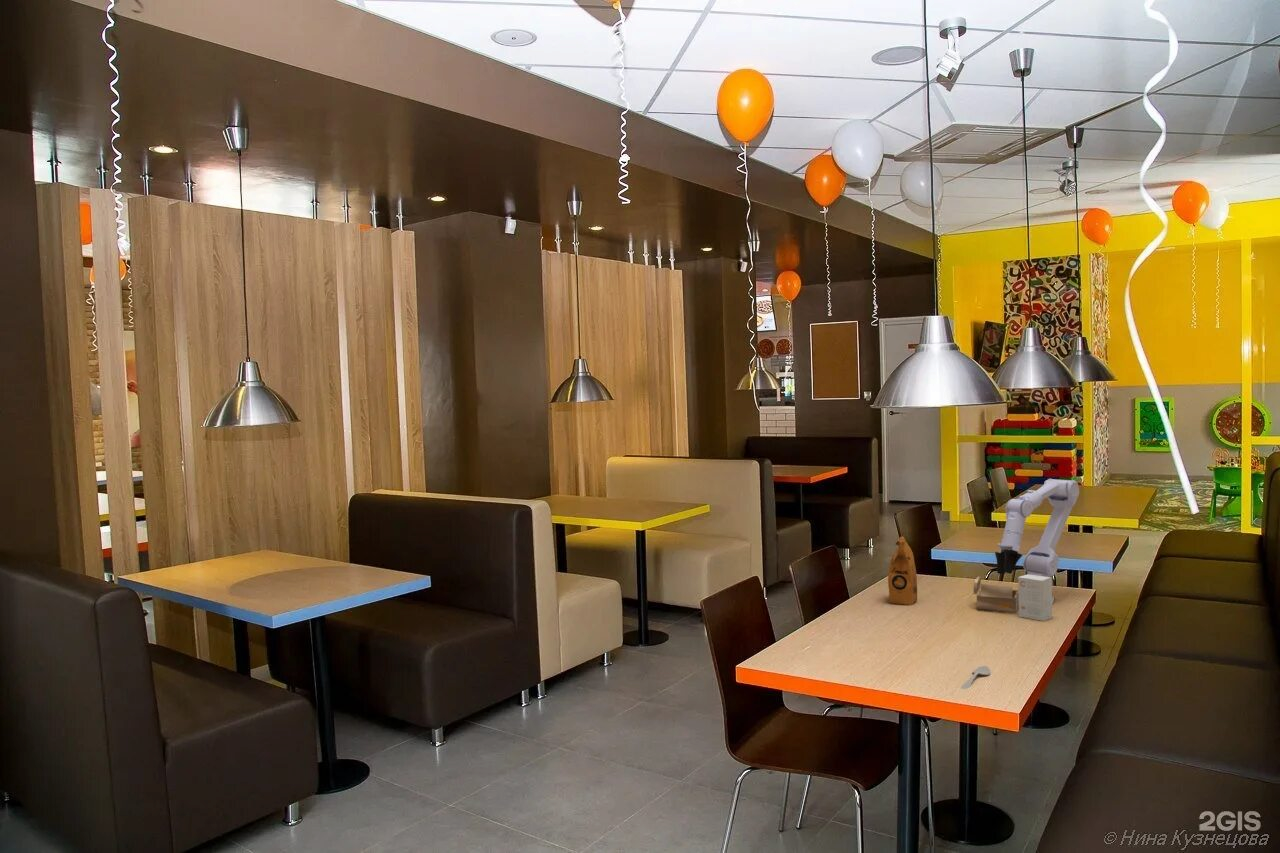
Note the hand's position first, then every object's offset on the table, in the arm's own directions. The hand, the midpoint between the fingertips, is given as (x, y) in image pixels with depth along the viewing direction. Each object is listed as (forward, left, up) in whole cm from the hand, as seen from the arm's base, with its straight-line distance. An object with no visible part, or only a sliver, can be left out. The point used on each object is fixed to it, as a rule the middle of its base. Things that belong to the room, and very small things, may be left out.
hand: (1004, 573), depth 288 cm
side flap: (-3, -8, -5) cm, 10 cm away
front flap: (+4, -2, -5) cm, 7 cm away
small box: (+6, +10, -12) cm, 17 cm away
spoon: (+78, 0, -13) cm, 79 cm away
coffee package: (-1, -33, -12) cm, 35 cm away
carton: (-3, -2, -12) cm, 13 cm away
